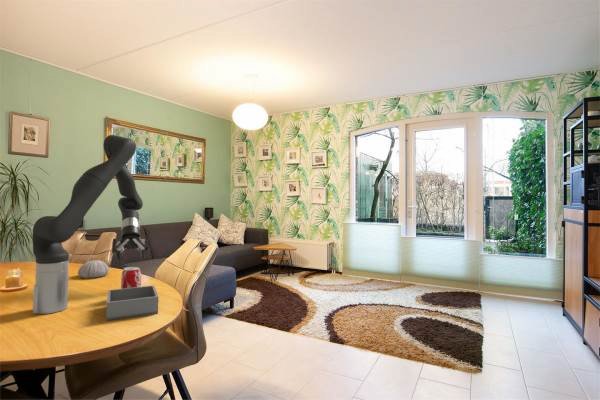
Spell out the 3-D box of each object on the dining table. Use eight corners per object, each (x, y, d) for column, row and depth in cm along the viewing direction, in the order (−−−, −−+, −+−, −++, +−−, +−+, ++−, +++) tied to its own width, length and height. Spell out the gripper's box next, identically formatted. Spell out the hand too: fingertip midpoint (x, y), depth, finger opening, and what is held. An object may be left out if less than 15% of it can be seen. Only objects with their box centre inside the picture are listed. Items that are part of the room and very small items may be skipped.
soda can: (132, 301, 123) (132, 270, 122) (116, 299, 124) (117, 269, 124) (144, 296, 129) (145, 267, 129) (129, 294, 131) (130, 265, 131)
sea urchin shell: (71, 277, 154) (71, 261, 154) (96, 271, 167) (97, 256, 167) (91, 280, 150) (92, 264, 150) (116, 274, 163) (116, 259, 162)
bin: (106, 321, 103) (106, 302, 103) (107, 306, 117) (108, 290, 116) (157, 313, 111) (158, 296, 111) (153, 300, 124) (154, 285, 124)
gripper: (112, 224, 138) (111, 255, 128) (148, 224, 145) (150, 253, 135) (112, 235, 143) (111, 265, 133) (147, 234, 150) (148, 262, 140)
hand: (130, 259), depth 134 cm, fingers open, 8 cm apart
